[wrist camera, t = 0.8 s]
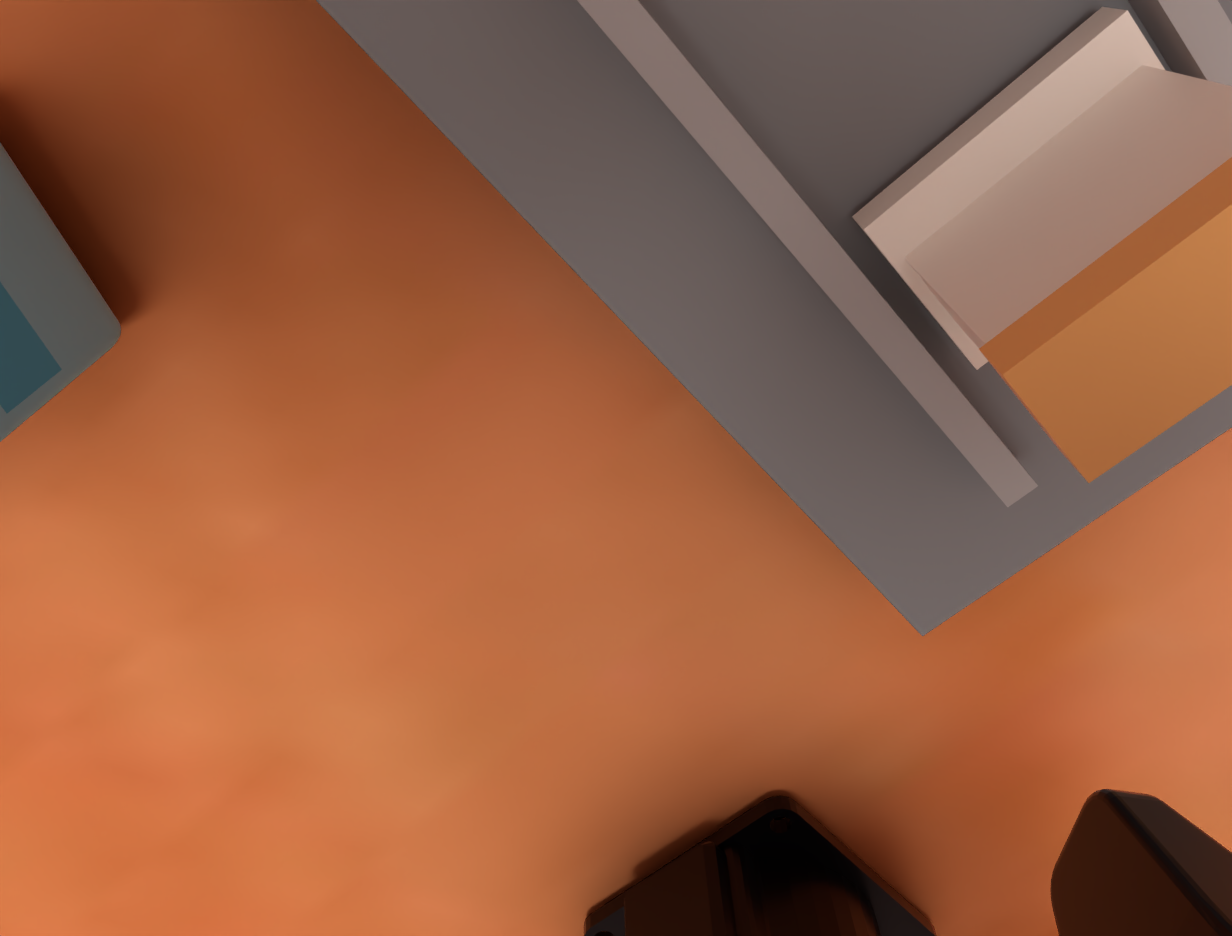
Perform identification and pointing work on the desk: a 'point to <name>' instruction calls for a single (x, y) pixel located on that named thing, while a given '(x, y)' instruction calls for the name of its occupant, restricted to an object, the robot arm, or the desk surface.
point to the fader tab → (1081, 240)
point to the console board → (789, 237)
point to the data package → (42, 306)
